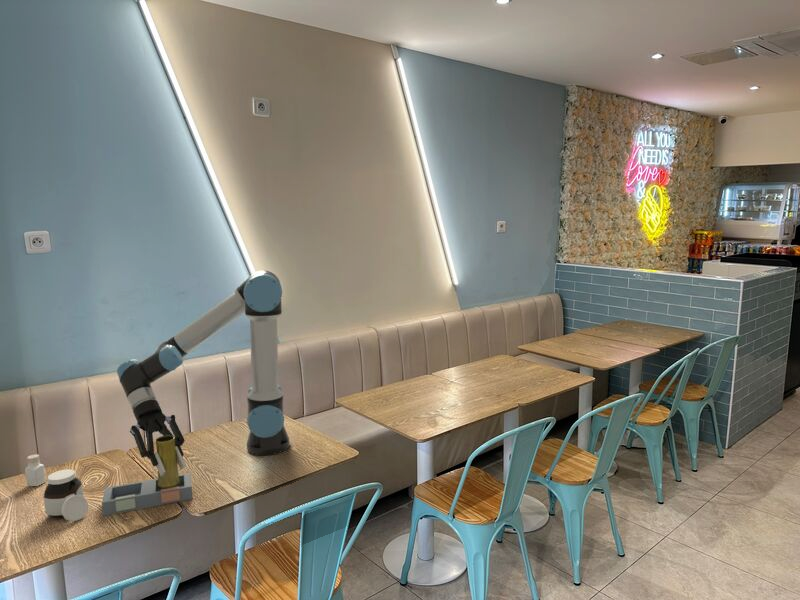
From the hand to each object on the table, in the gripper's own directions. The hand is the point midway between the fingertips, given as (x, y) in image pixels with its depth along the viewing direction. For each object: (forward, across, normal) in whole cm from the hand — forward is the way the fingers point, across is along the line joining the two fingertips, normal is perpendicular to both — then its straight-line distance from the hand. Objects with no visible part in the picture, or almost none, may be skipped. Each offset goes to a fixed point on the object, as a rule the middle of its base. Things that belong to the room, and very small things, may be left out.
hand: (173, 470), depth 173 cm
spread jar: (-4, +24, -17) cm, 30 cm away
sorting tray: (+2, +5, -11) cm, 12 cm away
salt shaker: (-24, +25, -38) cm, 51 cm away
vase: (+1, 0, -6) cm, 7 cm away
